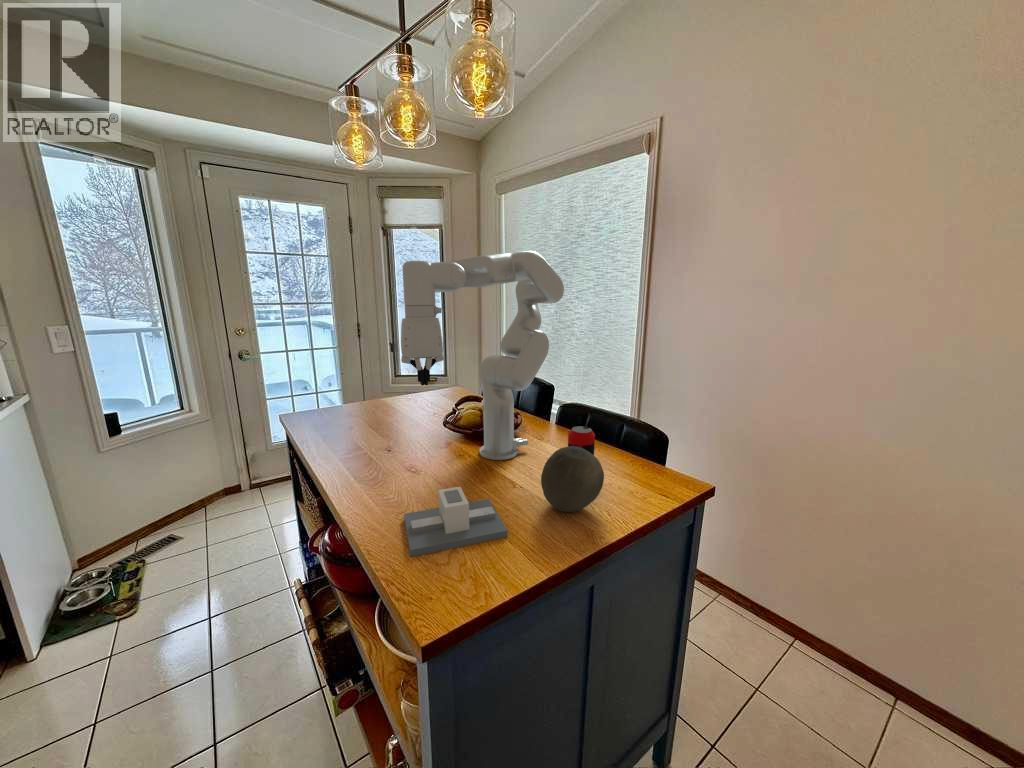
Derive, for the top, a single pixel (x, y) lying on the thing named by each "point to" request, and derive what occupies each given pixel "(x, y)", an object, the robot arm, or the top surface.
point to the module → (454, 509)
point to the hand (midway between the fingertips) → (424, 384)
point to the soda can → (582, 438)
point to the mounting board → (442, 541)
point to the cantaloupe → (571, 479)
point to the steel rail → (438, 521)
